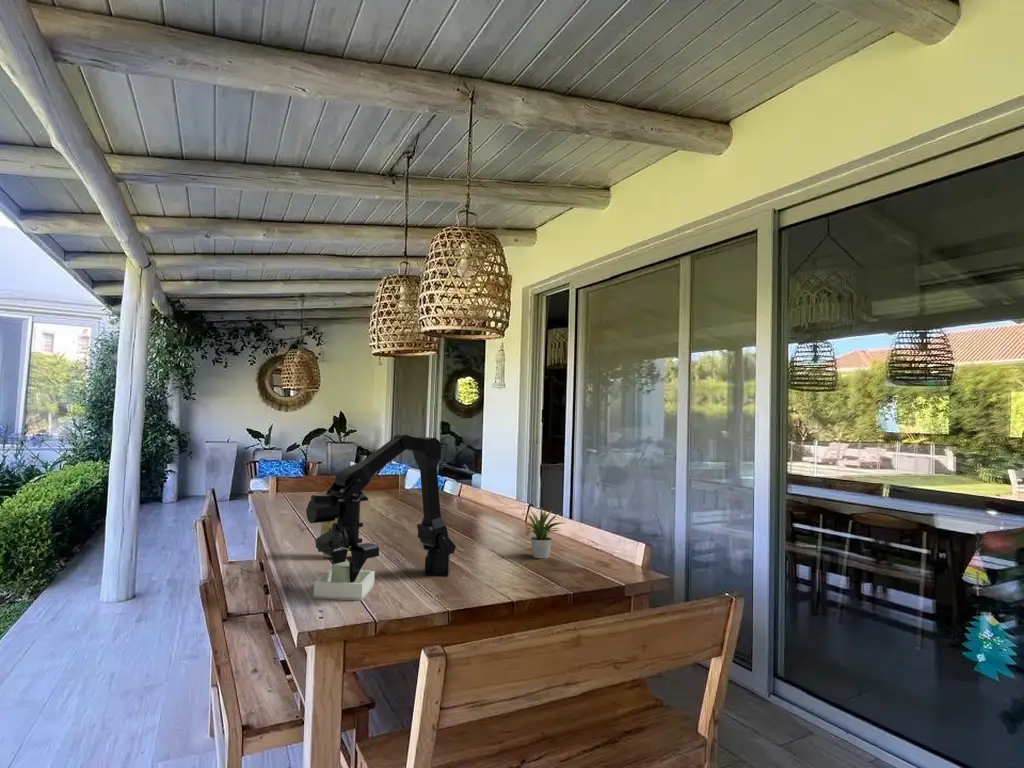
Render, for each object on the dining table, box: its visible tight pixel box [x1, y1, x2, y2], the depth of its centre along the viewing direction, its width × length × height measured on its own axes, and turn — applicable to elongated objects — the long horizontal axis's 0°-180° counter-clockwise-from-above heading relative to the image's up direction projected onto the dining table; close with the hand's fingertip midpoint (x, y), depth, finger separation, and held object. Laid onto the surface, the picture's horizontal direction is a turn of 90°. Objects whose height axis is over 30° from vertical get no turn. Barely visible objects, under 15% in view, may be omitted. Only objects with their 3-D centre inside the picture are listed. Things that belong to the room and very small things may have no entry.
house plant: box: [522, 507, 565, 559], centre depth 196 cm, size 14×14×16 cm
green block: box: [331, 560, 360, 583], centre depth 154 cm, size 5×5×5 cm
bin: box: [313, 568, 376, 602], centre depth 154 cm, size 12×12×4 cm
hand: (345, 580), depth 154 cm, fingers closed on green block, 5 cm apart
